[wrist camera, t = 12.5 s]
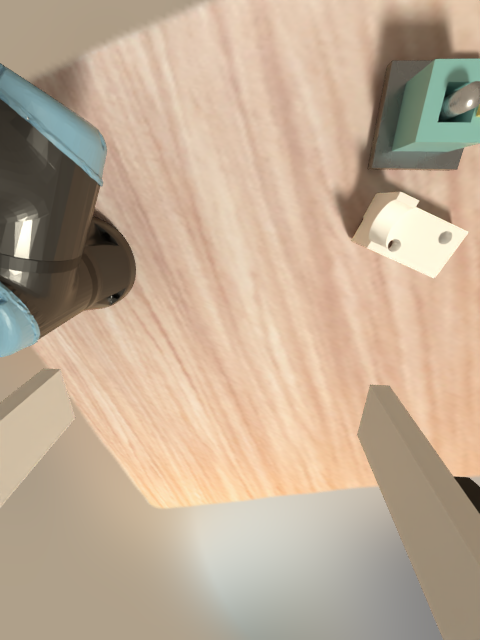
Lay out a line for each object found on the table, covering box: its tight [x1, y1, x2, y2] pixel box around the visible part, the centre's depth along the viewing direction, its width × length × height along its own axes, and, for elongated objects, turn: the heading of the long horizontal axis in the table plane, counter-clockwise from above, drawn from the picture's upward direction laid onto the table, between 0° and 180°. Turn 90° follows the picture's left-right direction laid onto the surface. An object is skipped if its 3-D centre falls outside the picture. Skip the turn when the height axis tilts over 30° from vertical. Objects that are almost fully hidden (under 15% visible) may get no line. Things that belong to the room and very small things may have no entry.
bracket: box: [351, 192, 469, 278], centre depth 37 cm, size 13×7×8 cm, turn 68°
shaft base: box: [368, 61, 480, 171], centre depth 31 cm, size 11×11×10 cm
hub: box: [392, 59, 480, 152], centre depth 30 cm, size 7×7×7 cm
